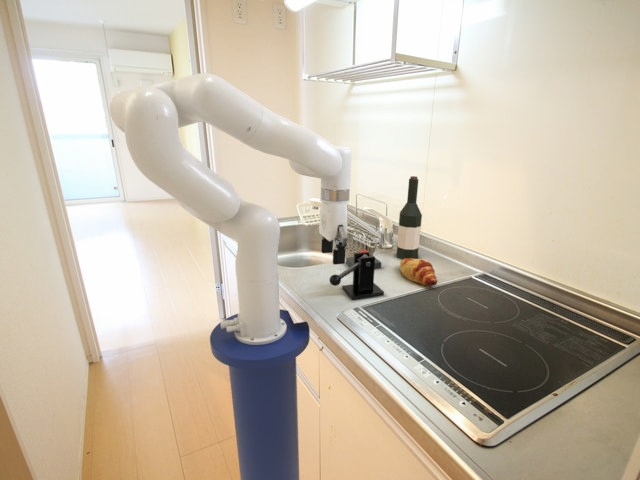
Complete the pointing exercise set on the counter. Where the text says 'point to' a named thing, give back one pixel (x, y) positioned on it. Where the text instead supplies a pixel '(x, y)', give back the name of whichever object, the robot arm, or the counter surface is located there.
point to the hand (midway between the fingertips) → (332, 257)
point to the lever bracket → (363, 279)
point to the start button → (363, 251)
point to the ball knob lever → (344, 273)
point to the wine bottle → (409, 224)
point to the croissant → (418, 271)
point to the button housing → (377, 263)
